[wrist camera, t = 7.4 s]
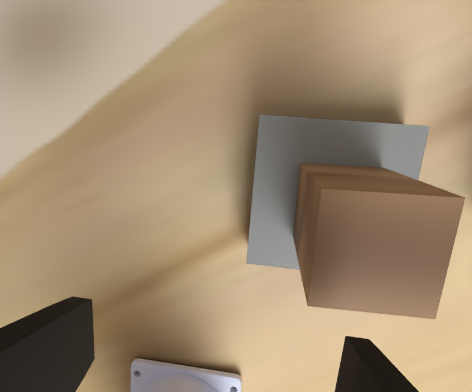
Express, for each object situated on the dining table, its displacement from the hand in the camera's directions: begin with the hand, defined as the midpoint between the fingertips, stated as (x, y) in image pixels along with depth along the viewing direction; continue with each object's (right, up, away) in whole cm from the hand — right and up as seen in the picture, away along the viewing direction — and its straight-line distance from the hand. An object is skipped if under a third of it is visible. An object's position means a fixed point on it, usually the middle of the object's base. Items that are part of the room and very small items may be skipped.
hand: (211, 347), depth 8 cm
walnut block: (+6, +4, +7) cm, 10 cm away
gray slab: (+6, +5, +10) cm, 12 cm away
